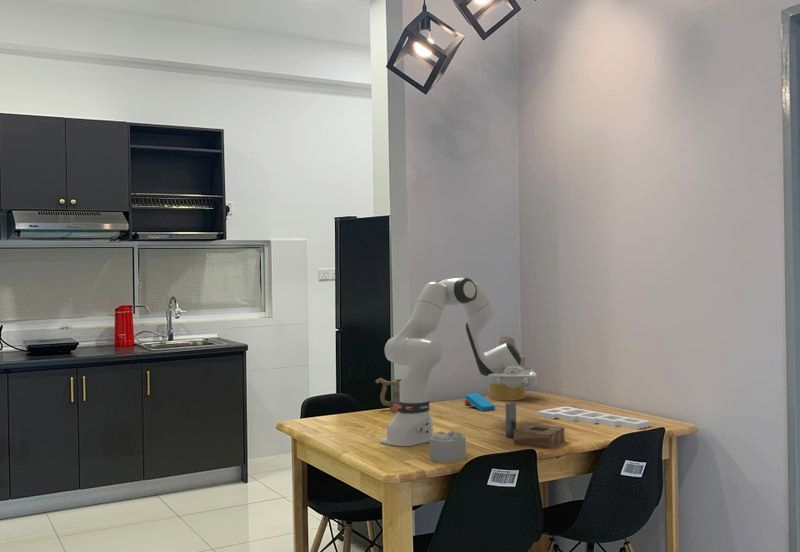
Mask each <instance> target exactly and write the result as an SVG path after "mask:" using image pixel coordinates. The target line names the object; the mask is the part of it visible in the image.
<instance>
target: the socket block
mask: <svg viewBox="0 0 800 552" xmlns="http://www.w3.org/2000/svg"><path fill="white" fill-rule="evenodd" d="M565 441H566V440H565V427H563V426H556V425H555V426H554V425H544V424H536V423H534V424H533V423H529V424H527V425H523V426H521V427H519V428H516V430H514V438H513V445H517V446H518V445H519V446H525V447H526V446H527V447H536V448H541V449H542V448H543V449H551V448H553V447H555V446H557V445H559V444H561V443H563V442H565Z"/></svg>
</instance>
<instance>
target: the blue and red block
mask: <svg viewBox="0 0 800 552" xmlns="http://www.w3.org/2000/svg"><path fill="white" fill-rule="evenodd" d="M464 398H465V400H464V405H465V406H467V405H469V406H471V405H472V406H473V407H475V408H476V409H477V410H479V411H480V412H486V411H494V410H495V408H496V405H495V404H494V403H492V402H491V401H490V400H488V399H487V398H485V397H484V396H483V395H481V394H480V393H479V392H477V393H476V392H475V393H467V394H465V397H464Z"/></svg>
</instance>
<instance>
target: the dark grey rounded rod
mask: <svg viewBox="0 0 800 552" xmlns="http://www.w3.org/2000/svg"><path fill="white" fill-rule="evenodd" d="M516 429H517V403H516V402H505V437H506V439H514V430H516Z"/></svg>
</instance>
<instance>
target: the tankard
mask: <svg viewBox="0 0 800 552" xmlns="http://www.w3.org/2000/svg"><path fill="white" fill-rule="evenodd" d="M401 379H402V378H397V379H393V380H391V381H388V380H385V379H384V378H382V377H379V378H378V379H376V380H375V383H376V384H379V383H381V384H382V387H381V392H380V395H379V396H380V402H381V404H382V405H383V406H385V407H386V406H387V407H389V411H390V410H391V411H390V412H393V411H394V412H393V413H397V412H398V411H397V409H394V404H397V405H398V404H399V401H400V381H401ZM388 386H390V392H392V396H390V397H391V399H390V401H388V400H386V395H387V391H388Z"/></svg>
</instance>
